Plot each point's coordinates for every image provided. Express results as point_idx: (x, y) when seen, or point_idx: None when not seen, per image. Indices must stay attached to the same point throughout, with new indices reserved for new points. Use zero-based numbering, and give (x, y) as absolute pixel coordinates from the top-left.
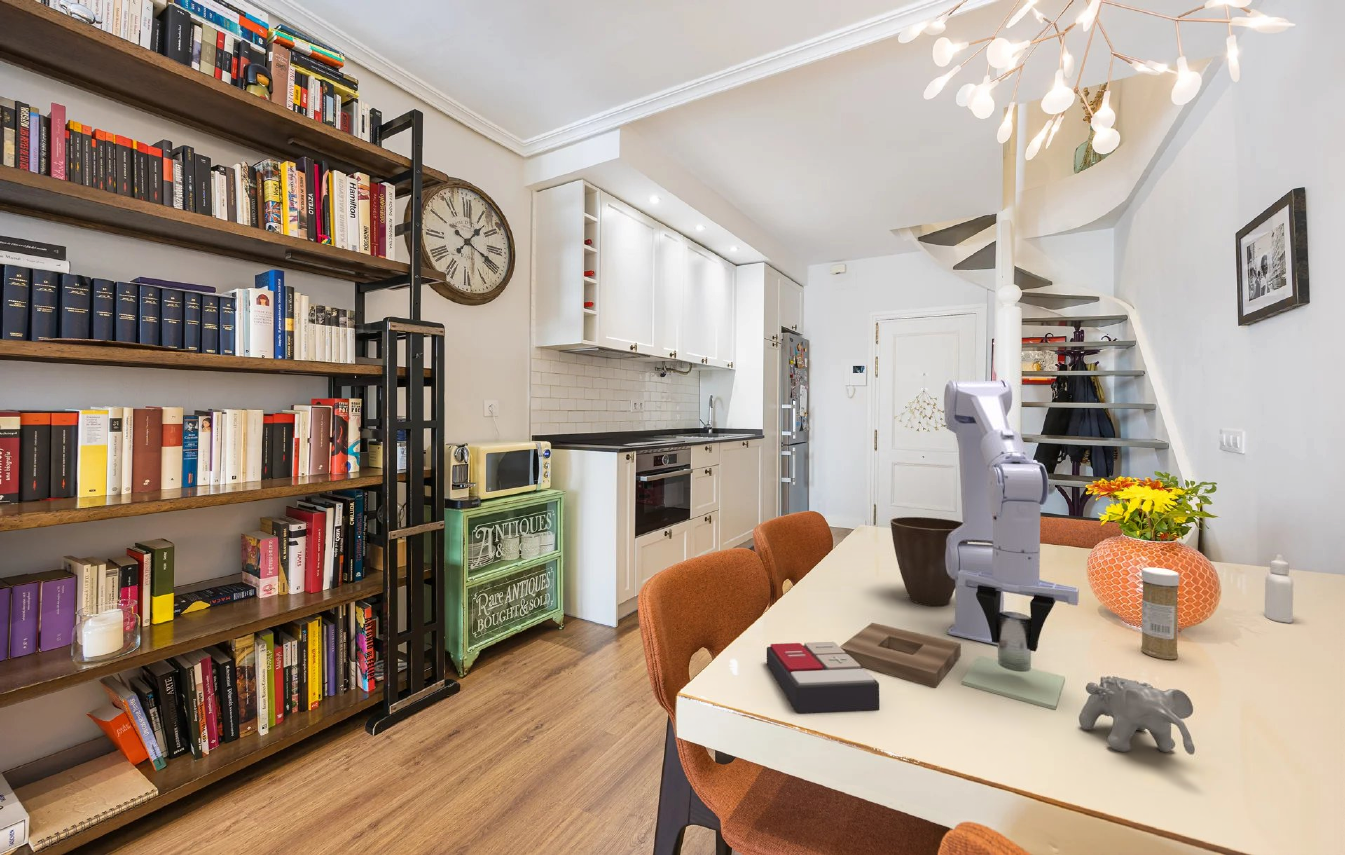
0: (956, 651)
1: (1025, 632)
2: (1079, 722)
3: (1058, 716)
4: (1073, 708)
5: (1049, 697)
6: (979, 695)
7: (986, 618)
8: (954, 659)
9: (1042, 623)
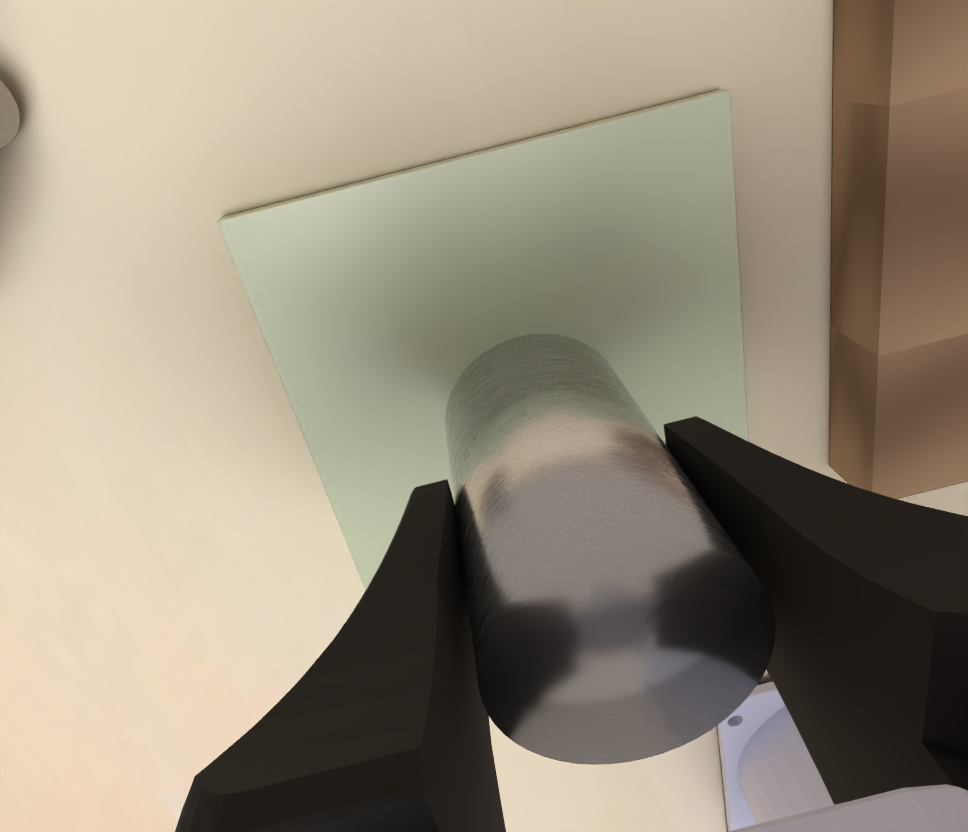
0: (864, 406)
1: (482, 540)
2: (2, 85)
3: (171, 146)
4: (186, 324)
5: (294, 307)
6: (586, 21)
7: (843, 483)
8: (845, 353)
9: (326, 650)
